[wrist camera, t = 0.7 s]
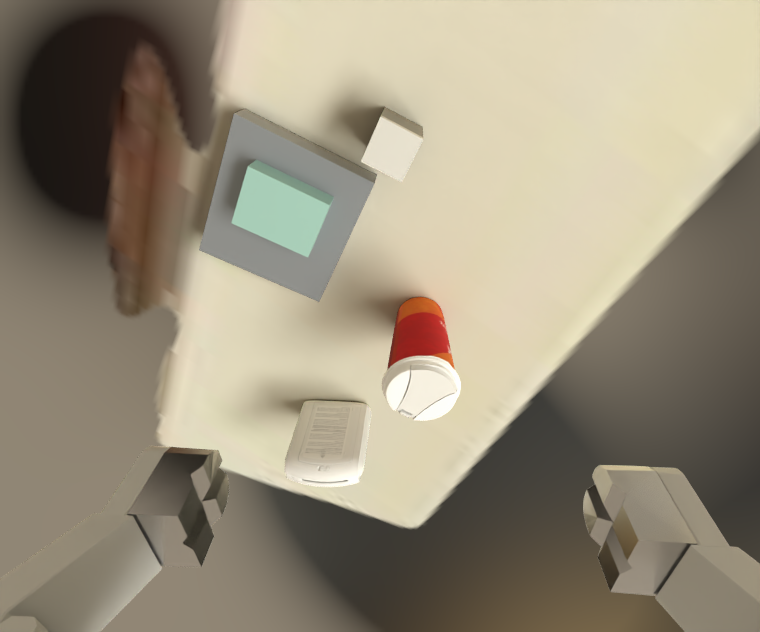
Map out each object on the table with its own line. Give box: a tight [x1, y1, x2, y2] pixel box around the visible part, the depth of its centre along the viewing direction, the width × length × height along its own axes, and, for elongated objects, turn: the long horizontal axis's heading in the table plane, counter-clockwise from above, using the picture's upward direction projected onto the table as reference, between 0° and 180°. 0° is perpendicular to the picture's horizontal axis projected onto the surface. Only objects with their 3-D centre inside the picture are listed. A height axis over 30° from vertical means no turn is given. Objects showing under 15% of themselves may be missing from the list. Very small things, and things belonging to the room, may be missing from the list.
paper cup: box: [382, 297, 461, 421], centre depth 47 cm, size 8×8×14 cm
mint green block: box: [231, 160, 334, 257], centre depth 42 cm, size 6×8×2 cm
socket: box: [199, 109, 377, 302], centre depth 45 cm, size 15×14×3 cm
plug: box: [361, 107, 423, 182], centre depth 39 cm, size 4×4×6 cm
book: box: [285, 400, 371, 487], centre depth 57 cm, size 10×4×12 cm, turn 91°
